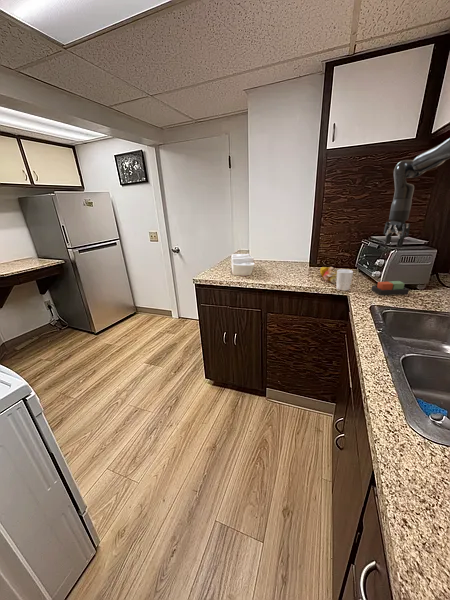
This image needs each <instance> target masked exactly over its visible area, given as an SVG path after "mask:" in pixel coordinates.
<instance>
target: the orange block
mask: <svg viewBox="0 0 450 600" xmlns="http://www.w3.org/2000/svg"><path fill="white" fill-rule="evenodd" d="M392 287H393V284H392V283H390V282H389V281H378V282H377V288H379V289H381V290H392Z"/></svg>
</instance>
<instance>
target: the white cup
mask: <svg viewBox="0 0 450 600" xmlns="http://www.w3.org/2000/svg"><path fill="white" fill-rule="evenodd" d="M336 272H337V277H336V278H337V279H336V282H335V285H336V286H335V288H336V290H338V291H345V292H347V291H350V289H351V285H352V281H353V276H354V271H353V270H352V269H347V268H339V269H337V270H336Z"/></svg>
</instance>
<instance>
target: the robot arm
mask: <svg viewBox="0 0 450 600" xmlns="http://www.w3.org/2000/svg"><path fill="white" fill-rule="evenodd" d="M449 159H450V137H449V138H446V140H444V141H443V142H441V143H440V144H437V145H435V146H434V147H432V148H430V149H428V150H425V151H424V152H422V153H420V154H418V155H416V157H414V159H405V160H400V161H399V162H398V163H397V164H396V165H395V167H394V169H393V181H394V194H393V198H392V202H391V205H390V211H389V216H388V221H386V222H385V224H384V229H383V232H382V233H383V235H384V236H385V241H384V244H385V245H390V244H391V241H392V237H393V234H394V233H395V235H397V241H396V247H397V248H400V247H403V244H404V240H405V239H406V238H409V235H410V229H411V223H406V221H408V220H409V218H410V214H411V209H412V203H413V202H412V201H413V195H414V191H415V185H414V184H412V183H408V182H407V179H414V178H419V177H420V176H422V175H423V174H424V173H426V172H427V171H430V170H432V169H435V168H438V167H439V166H441V165H443V164H444V163H445V162H446V161H447V160H449Z"/></svg>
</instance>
